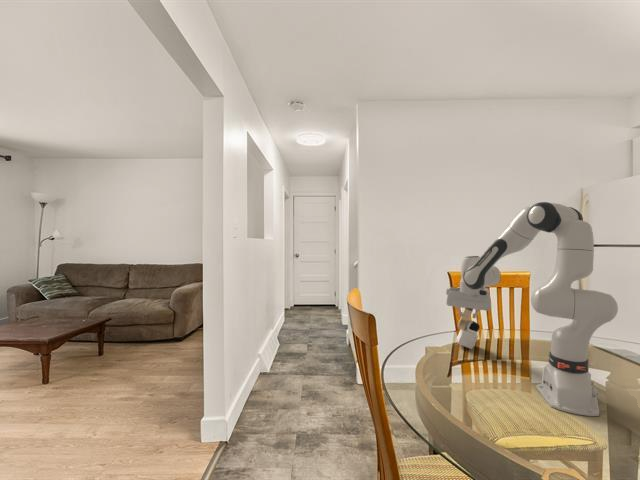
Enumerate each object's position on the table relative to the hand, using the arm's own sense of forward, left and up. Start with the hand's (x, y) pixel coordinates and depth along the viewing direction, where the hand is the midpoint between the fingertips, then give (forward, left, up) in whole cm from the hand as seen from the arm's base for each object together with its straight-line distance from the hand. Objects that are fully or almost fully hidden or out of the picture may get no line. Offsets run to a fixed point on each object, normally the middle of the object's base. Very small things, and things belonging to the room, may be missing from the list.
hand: (467, 316), depth 179 cm
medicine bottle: (0, +1, -14) cm, 14 cm away
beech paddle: (0, +3, -6) cm, 6 cm away
